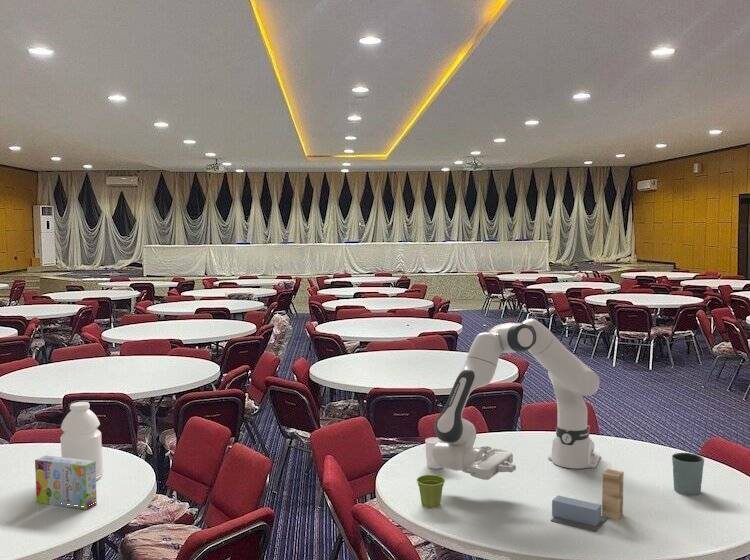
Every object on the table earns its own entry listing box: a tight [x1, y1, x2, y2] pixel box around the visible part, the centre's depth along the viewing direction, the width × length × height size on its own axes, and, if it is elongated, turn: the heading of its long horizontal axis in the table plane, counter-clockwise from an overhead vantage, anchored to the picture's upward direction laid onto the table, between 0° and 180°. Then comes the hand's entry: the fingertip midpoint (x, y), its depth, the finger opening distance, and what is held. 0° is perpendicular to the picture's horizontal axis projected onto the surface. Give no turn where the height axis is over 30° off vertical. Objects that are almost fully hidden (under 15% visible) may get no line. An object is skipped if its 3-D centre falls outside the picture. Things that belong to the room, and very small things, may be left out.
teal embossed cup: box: [671, 452, 705, 496], centre depth 248 cm, size 10×10×12 cm
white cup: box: [424, 436, 444, 470], centre depth 275 cm, size 8×8×10 cm
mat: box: [550, 515, 609, 533], centre depth 225 cm, size 12×14×1 cm
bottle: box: [59, 401, 104, 481], centre depth 264 cm, size 14×14×28 cm
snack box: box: [34, 454, 98, 510], centre depth 241 cm, size 21×6×15 cm, turn 71°
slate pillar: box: [551, 495, 602, 526], centre depth 226 cm, size 5×5×14 cm
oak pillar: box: [601, 468, 625, 521], centre depth 228 cm, size 5×5×14 cm
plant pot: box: [416, 474, 446, 509], centre depth 237 cm, size 9×9×9 cm
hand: (514, 468), depth 237 cm, fingers closed
